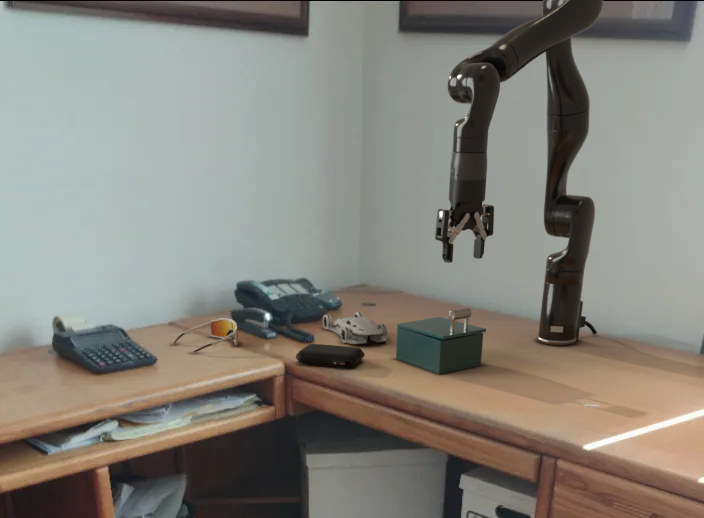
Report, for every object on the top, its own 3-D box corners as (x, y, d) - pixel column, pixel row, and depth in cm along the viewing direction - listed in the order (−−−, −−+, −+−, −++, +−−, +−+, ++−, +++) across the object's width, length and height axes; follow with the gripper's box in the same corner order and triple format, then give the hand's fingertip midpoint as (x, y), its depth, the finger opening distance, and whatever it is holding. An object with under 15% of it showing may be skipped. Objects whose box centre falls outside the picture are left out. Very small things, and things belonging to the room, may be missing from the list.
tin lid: (486, 331, 211) (487, 307, 208) (443, 339, 205) (444, 314, 202) (438, 319, 223) (439, 296, 220) (397, 327, 216) (397, 303, 214)
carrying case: (291, 365, 215) (352, 371, 211) (291, 352, 213) (352, 357, 209) (307, 354, 224) (366, 359, 220) (307, 341, 222) (366, 346, 218)
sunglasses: (250, 344, 231) (247, 324, 228) (198, 363, 224) (193, 342, 221) (221, 333, 240) (217, 314, 237) (169, 351, 234) (165, 331, 231)
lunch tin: (480, 365, 216) (483, 333, 212) (438, 374, 209) (440, 341, 206) (437, 351, 226) (438, 320, 223) (396, 359, 220) (396, 327, 216)
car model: (359, 323, 250) (359, 304, 248) (395, 345, 231) (395, 324, 228) (320, 327, 247) (319, 307, 244) (353, 349, 228) (353, 328, 225)
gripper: (453, 180, 187) (449, 266, 195) (506, 175, 194) (499, 259, 202) (429, 177, 192) (426, 261, 200) (481, 172, 199) (476, 254, 207)
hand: (463, 260), depth 201 cm, fingers open, 8 cm apart
